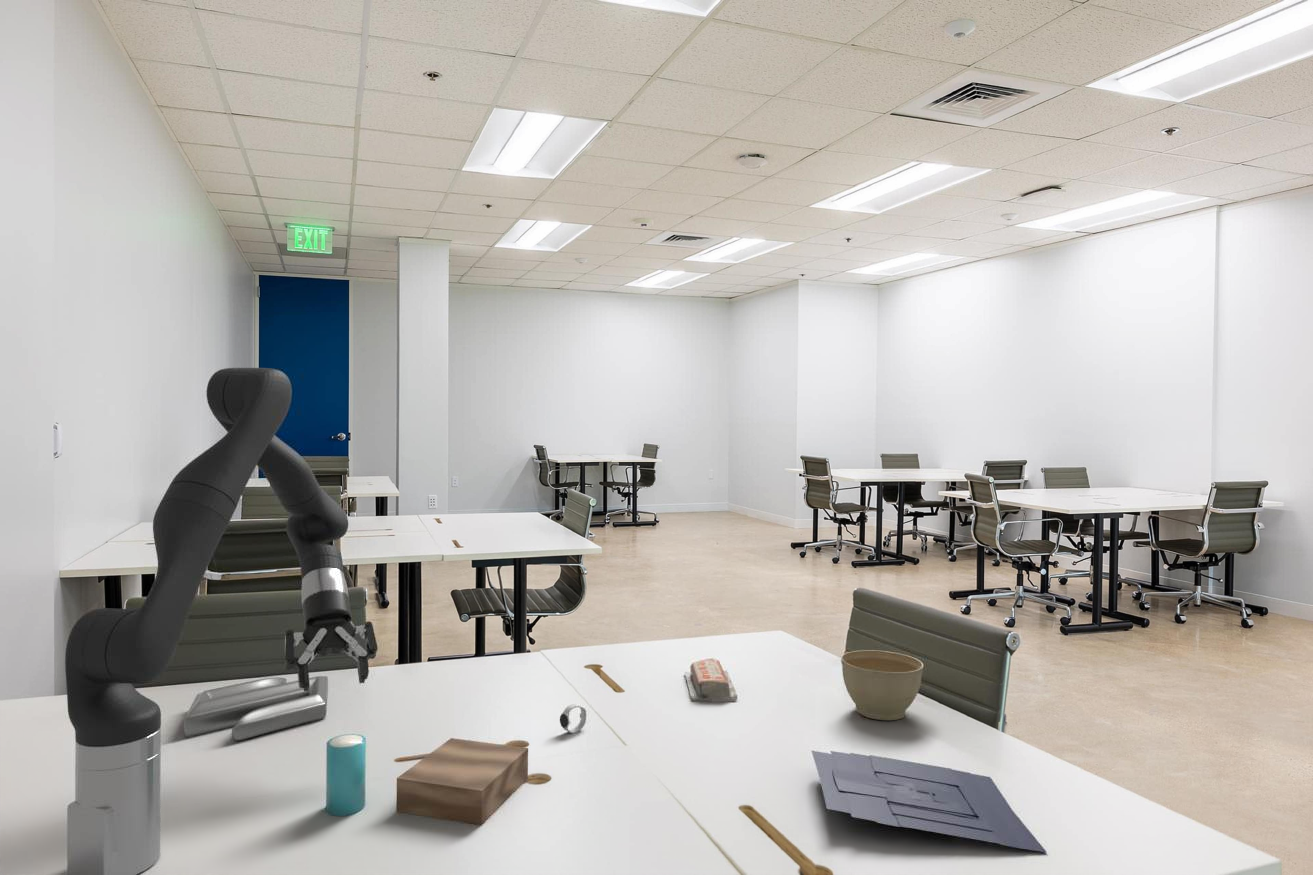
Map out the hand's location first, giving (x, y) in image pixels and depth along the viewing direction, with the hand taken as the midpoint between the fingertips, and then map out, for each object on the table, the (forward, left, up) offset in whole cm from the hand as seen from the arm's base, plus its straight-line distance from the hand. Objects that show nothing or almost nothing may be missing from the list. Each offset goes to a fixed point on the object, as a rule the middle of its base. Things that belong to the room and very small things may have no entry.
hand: (335, 684), depth 131 cm
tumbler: (-8, -8, -15) cm, 19 cm away
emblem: (+20, +32, -16) cm, 41 cm away
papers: (+17, -91, -16) cm, 94 cm away
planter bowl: (+58, -86, -15) cm, 105 cm away
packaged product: (+63, -50, -16) cm, 82 cm away
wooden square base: (+1, -23, -15) cm, 28 cm away
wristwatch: (+30, -30, -15) cm, 45 cm away
